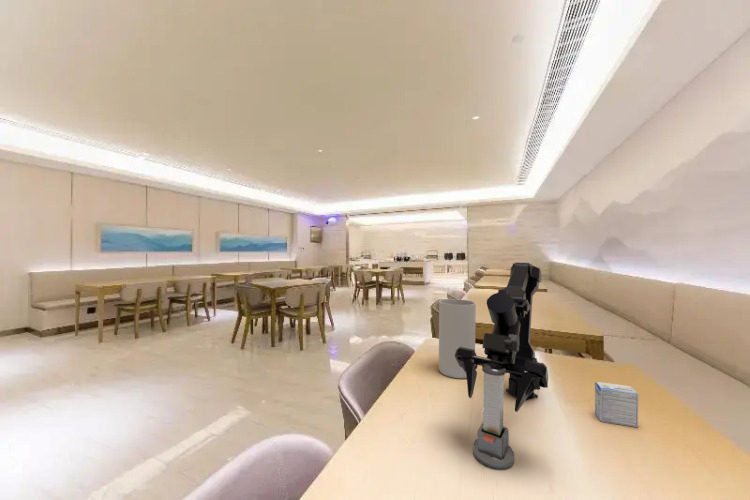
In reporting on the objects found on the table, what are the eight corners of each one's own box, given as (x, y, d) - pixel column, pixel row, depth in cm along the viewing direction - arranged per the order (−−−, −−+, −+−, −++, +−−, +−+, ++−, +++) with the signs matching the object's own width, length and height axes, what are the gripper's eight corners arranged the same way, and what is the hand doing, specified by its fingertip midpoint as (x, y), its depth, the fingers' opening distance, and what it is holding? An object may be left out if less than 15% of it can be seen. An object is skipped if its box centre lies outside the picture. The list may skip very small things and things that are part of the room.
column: (485, 420, 66) (485, 361, 66) (507, 427, 64) (507, 366, 64) (478, 430, 63) (479, 368, 63) (502, 438, 60) (502, 373, 60)
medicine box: (630, 419, 78) (630, 385, 78) (638, 428, 74) (639, 393, 74) (594, 413, 80) (594, 381, 81) (600, 422, 76) (600, 388, 76)
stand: (479, 439, 69) (479, 414, 69) (517, 453, 64) (517, 426, 64) (467, 458, 62) (468, 431, 62) (509, 476, 57) (509, 446, 58)
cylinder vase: (469, 382, 98) (470, 306, 99) (433, 374, 105) (434, 302, 105) (478, 370, 109) (479, 301, 109) (445, 363, 116) (445, 298, 116)
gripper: (457, 312, 72) (438, 374, 63) (547, 324, 61) (539, 400, 52) (468, 338, 78) (452, 397, 69) (550, 353, 67) (544, 425, 58)
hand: (491, 403), depth 62 cm, fingers open, 9 cm apart
